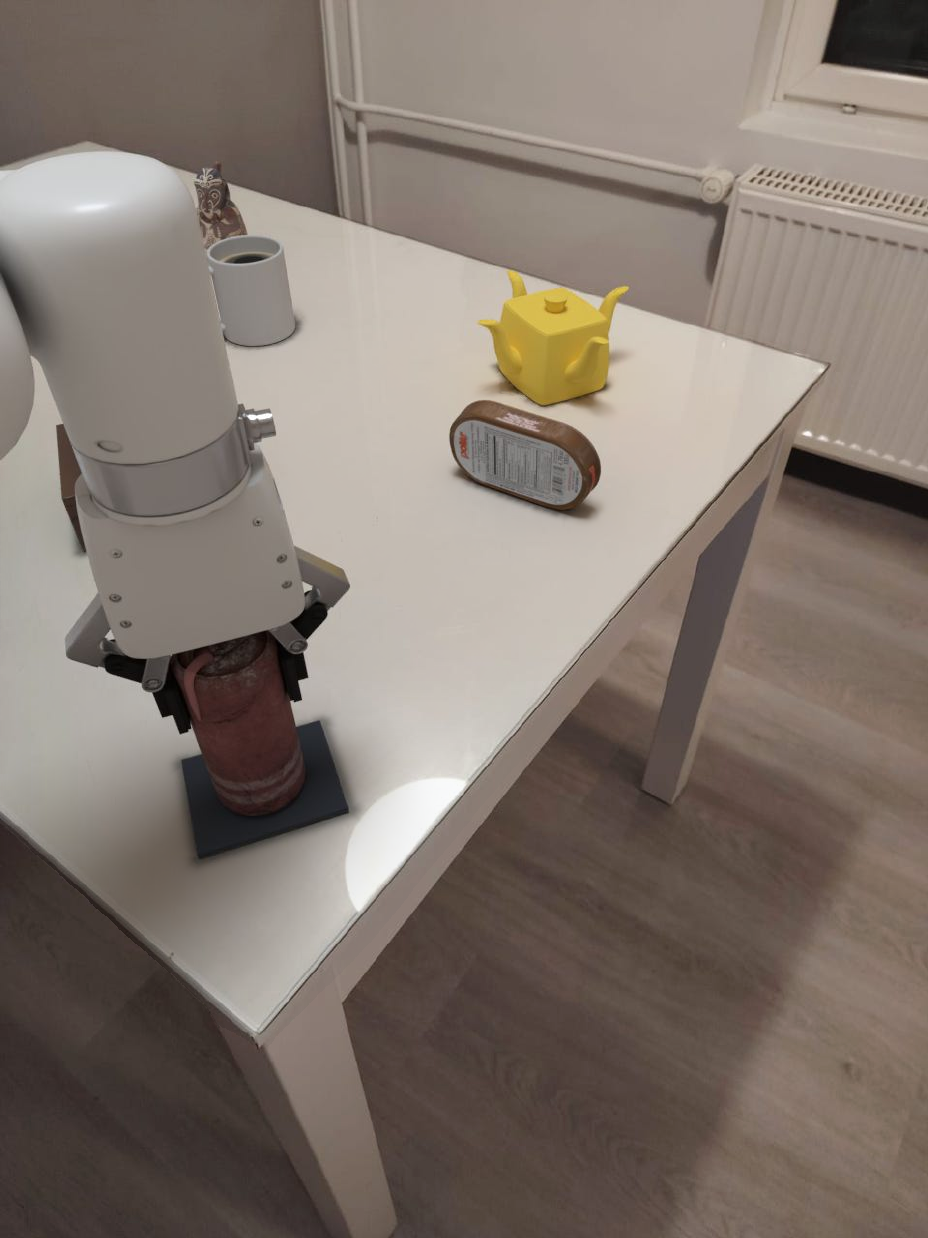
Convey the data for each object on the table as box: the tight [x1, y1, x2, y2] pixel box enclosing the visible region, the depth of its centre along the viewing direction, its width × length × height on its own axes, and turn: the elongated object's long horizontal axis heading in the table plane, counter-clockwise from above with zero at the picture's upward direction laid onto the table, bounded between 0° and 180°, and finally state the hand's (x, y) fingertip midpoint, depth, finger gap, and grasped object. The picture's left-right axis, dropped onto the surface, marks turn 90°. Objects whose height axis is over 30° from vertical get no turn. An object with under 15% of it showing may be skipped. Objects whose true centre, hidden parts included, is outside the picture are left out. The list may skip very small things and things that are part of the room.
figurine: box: [193, 161, 249, 265], centre depth 120 cm, size 7×7×12 cm
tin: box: [448, 399, 602, 510], centre depth 81 cm, size 15×3×8 cm, turn 59°
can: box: [170, 630, 306, 816], centre depth 54 cm, size 6×6×14 cm
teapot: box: [476, 269, 630, 406], centre depth 96 cm, size 15×14×10 cm
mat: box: [180, 719, 350, 860], centre depth 60 cm, size 10×8×1 cm
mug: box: [207, 234, 296, 347], centre depth 105 cm, size 11×10×10 cm
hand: (237, 698), depth 53 cm, fingers closed on can, 6 cm apart
